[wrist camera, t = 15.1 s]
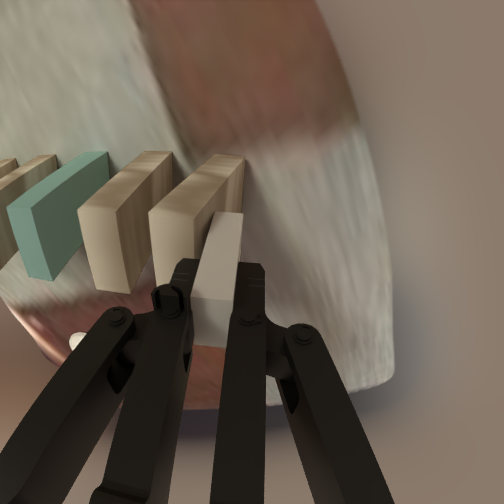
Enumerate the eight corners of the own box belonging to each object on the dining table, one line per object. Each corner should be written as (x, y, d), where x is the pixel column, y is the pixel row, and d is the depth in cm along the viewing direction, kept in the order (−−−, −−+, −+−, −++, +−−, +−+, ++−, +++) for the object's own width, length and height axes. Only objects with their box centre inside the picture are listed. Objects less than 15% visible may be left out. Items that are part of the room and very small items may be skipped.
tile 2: (148, 209, 24) (96, 289, 15) (144, 151, 21) (77, 210, 13) (173, 211, 24) (130, 294, 16) (172, 151, 21) (115, 212, 13)
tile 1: (213, 214, 24) (158, 295, 16) (215, 153, 21) (148, 212, 13) (240, 218, 24) (196, 305, 15) (245, 157, 21) (193, 219, 13)
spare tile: (92, 206, 24) (29, 276, 15) (85, 152, 21) (6, 207, 13) (113, 207, 24) (53, 281, 15) (107, 151, 21) (30, 207, 13)
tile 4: (47, 205, 24) (-17, 267, 15) (38, 155, 21) (-39, 207, 12) (63, 205, 24) (-1, 271, 15) (55, 154, 21) (-23, 207, 13)
